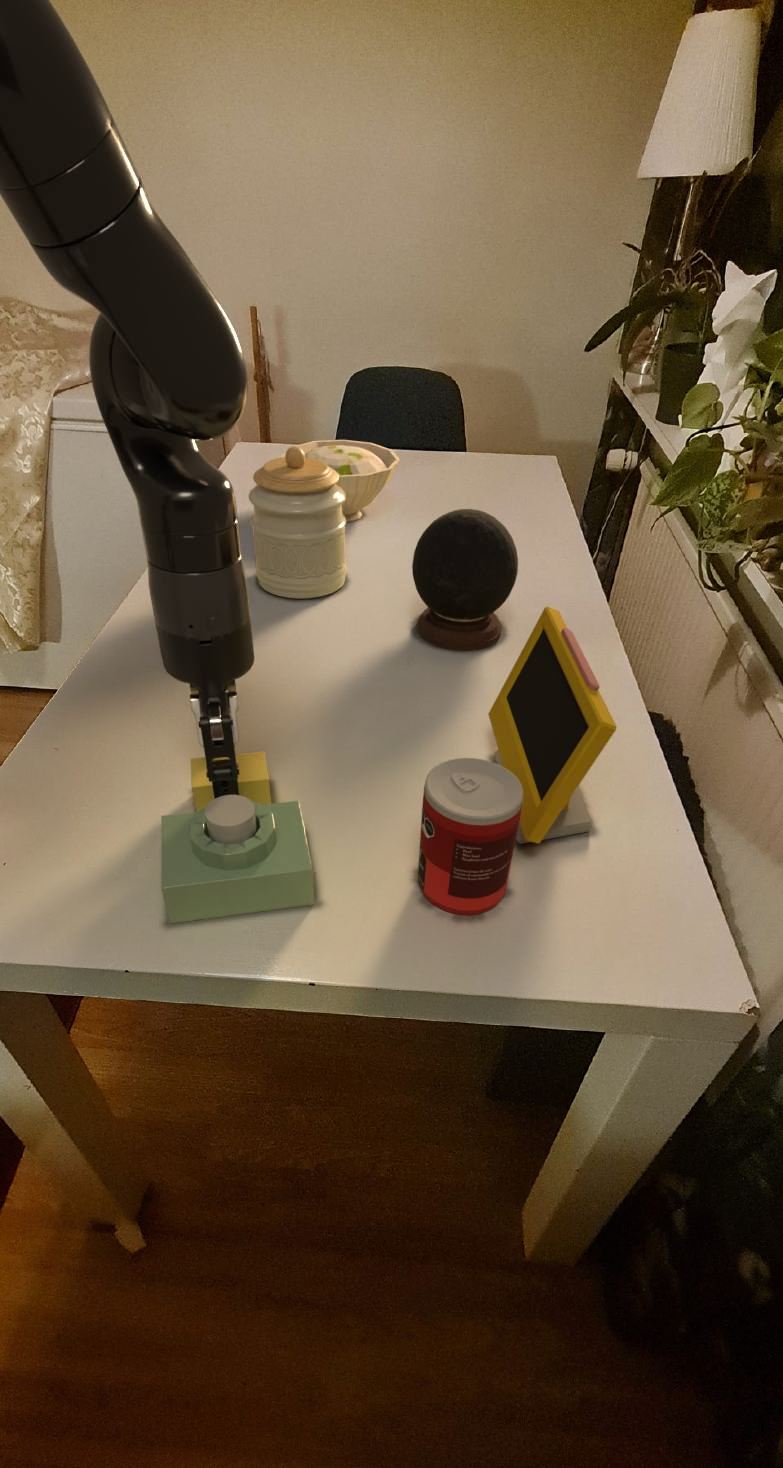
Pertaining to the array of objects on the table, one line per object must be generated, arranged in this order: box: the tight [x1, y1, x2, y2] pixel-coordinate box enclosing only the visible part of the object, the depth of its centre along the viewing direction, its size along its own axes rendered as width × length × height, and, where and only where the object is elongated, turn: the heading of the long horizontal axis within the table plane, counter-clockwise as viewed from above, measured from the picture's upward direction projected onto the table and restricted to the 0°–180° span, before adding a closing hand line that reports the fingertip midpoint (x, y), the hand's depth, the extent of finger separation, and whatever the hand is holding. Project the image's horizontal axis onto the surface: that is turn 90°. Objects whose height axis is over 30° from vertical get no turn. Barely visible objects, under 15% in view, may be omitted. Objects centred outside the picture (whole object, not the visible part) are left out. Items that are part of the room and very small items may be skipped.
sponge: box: [190, 750, 272, 812], centre depth 74 cm, size 7×4×4 cm, turn 102°
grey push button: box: [205, 795, 257, 845], centre depth 63 cm, size 4×4×2 cm
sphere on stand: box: [411, 508, 519, 651], centre depth 97 cm, size 13×13×15 cm
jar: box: [248, 445, 348, 599], centre depth 105 cm, size 13×13×18 cm
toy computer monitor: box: [487, 606, 618, 845], centre depth 71 cm, size 20×8×16 cm, turn 4°
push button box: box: [160, 800, 315, 924], centre depth 66 cm, size 12×9×6 cm
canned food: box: [417, 757, 523, 916], centre depth 64 cm, size 8×8×11 cm
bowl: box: [280, 439, 401, 523], centre depth 127 cm, size 19×19×10 cm
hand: (225, 775), depth 73 cm, fingers open, 8 cm apart
